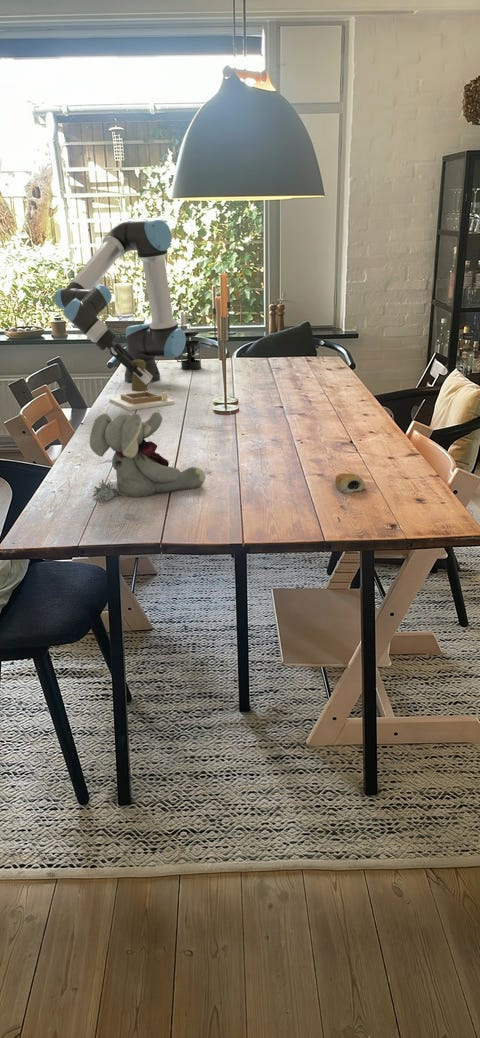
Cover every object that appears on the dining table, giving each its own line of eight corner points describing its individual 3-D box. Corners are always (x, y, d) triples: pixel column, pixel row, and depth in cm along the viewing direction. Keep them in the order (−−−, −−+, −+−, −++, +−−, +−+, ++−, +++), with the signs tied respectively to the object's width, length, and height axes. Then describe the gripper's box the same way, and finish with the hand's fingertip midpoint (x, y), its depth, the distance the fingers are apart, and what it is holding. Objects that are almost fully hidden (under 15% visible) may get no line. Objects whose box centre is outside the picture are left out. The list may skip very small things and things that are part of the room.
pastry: (329, 482, 193) (329, 468, 191) (354, 480, 194) (355, 466, 193) (341, 494, 184) (341, 479, 183) (367, 492, 185) (368, 477, 184)
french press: (204, 366, 358) (202, 315, 349) (201, 370, 349) (199, 318, 341) (179, 366, 359) (177, 316, 351) (175, 370, 350) (173, 318, 342)
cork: (149, 388, 285) (148, 358, 282) (146, 391, 280) (144, 361, 276) (133, 388, 286) (131, 358, 282) (129, 391, 280) (128, 361, 276)
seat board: (153, 395, 296) (152, 385, 295) (174, 404, 282) (173, 392, 280) (109, 401, 288) (108, 390, 286) (129, 410, 273) (128, 398, 272)
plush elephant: (155, 469, 206) (151, 392, 199) (209, 487, 191) (206, 404, 184) (68, 492, 189) (60, 409, 182) (120, 513, 174) (113, 424, 167)
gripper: (98, 340, 285) (145, 383, 291) (90, 347, 268) (140, 392, 274) (111, 325, 283) (158, 369, 289) (104, 331, 266) (154, 377, 272)
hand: (149, 380), depth 282 cm, fingers closed on cork, 5 cm apart
